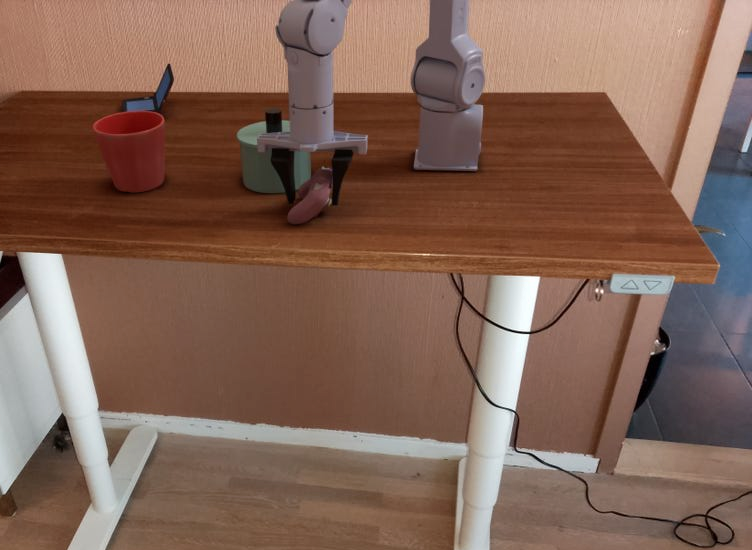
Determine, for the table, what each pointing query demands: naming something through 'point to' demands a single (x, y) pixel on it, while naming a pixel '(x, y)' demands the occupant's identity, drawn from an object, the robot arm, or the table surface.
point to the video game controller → (312, 196)
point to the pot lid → (263, 127)
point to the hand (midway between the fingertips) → (313, 201)
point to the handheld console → (155, 101)
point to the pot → (271, 170)
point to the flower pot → (133, 149)
